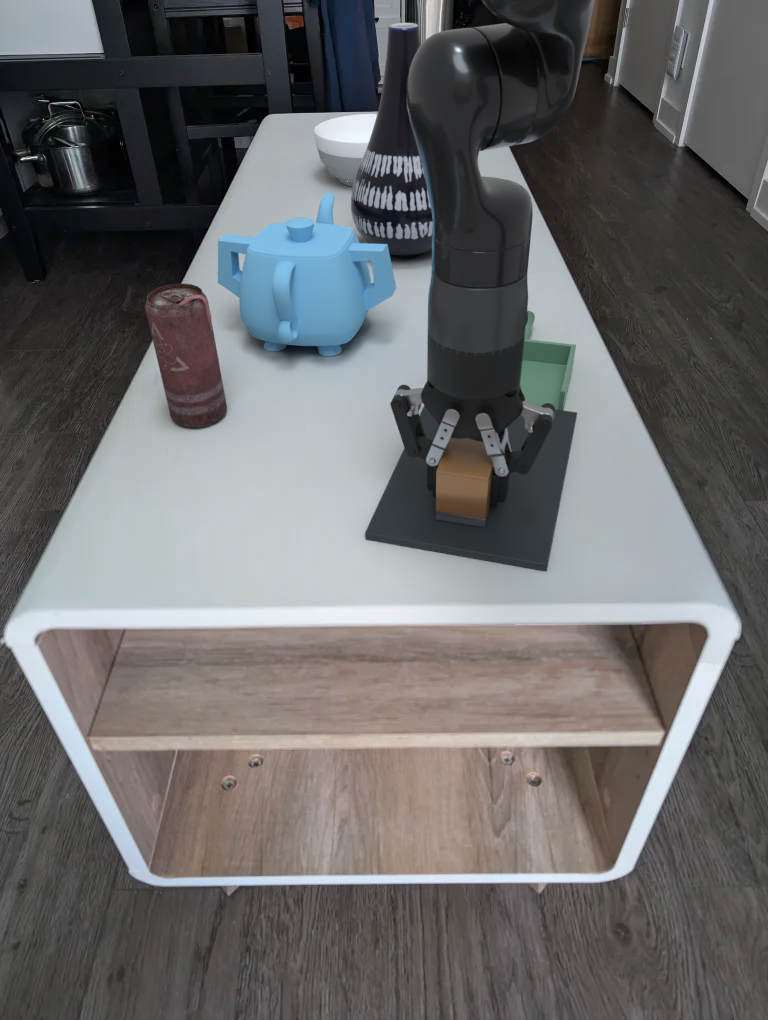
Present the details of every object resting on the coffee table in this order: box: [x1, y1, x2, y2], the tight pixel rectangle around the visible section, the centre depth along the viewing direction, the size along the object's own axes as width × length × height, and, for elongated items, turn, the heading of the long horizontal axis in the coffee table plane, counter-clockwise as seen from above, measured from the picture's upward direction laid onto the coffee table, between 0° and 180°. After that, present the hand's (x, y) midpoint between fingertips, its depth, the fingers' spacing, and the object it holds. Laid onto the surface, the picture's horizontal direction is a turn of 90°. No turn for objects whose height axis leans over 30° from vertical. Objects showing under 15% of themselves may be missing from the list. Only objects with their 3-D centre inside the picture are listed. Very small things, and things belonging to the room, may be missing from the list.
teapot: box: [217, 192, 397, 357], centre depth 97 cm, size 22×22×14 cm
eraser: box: [435, 438, 494, 528], centre depth 71 cm, size 6×4×6 cm
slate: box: [364, 404, 578, 572], centre depth 77 cm, size 24×16×1 cm, turn 164°
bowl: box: [313, 113, 377, 188], centre depth 144 cm, size 19×19×9 cm
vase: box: [350, 22, 433, 260], centre depth 111 cm, size 16×16×30 cm
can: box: [144, 283, 228, 429], centre depth 82 cm, size 6×6×14 cm
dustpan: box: [520, 310, 577, 411], centre depth 93 cm, size 19×13×3 cm
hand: (467, 496), depth 72 cm, fingers closed on eraser, 4 cm apart
